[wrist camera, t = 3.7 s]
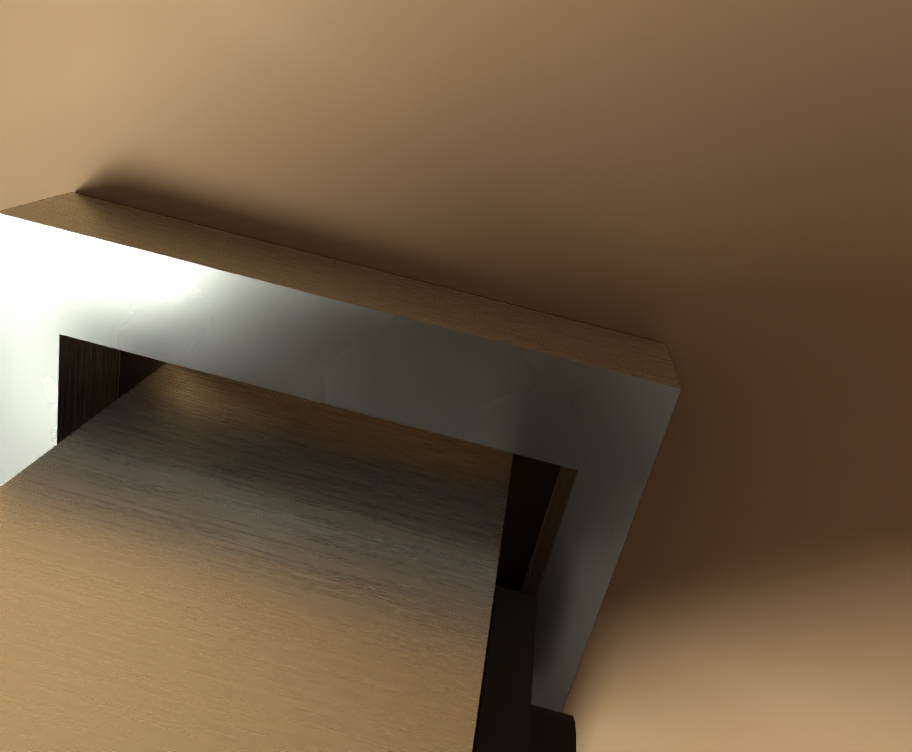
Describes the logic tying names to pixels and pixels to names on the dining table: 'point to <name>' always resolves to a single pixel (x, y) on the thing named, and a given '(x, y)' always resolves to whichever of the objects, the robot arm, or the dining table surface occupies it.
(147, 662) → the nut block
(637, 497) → the metal rectangular frame
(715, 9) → the dining table surface
